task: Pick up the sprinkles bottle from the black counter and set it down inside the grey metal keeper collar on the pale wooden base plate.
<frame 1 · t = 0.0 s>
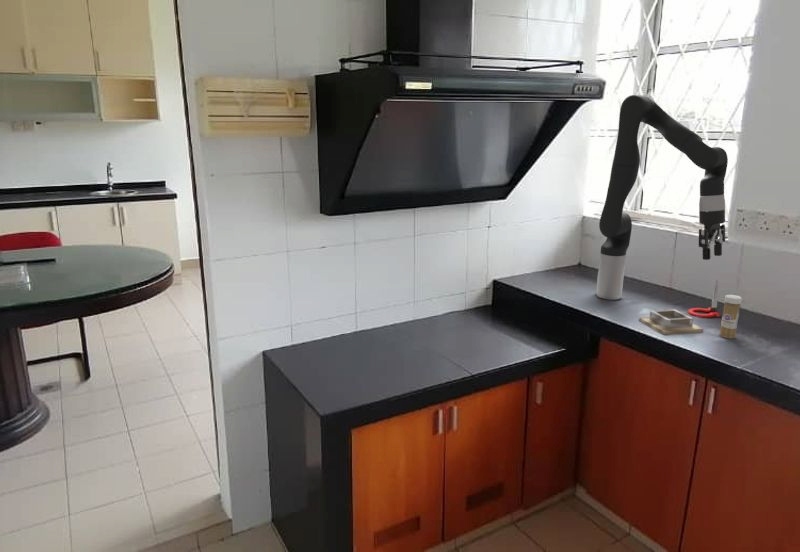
hand: (712, 257, 192), 22 cm above the counter, tool pointing down, fingers open, 8 cm apart
tow hook: (702, 314, 205), on the counter
sprinkles bottle: (727, 337, 184), on the counter
keeper: (670, 325, 193), on the counter
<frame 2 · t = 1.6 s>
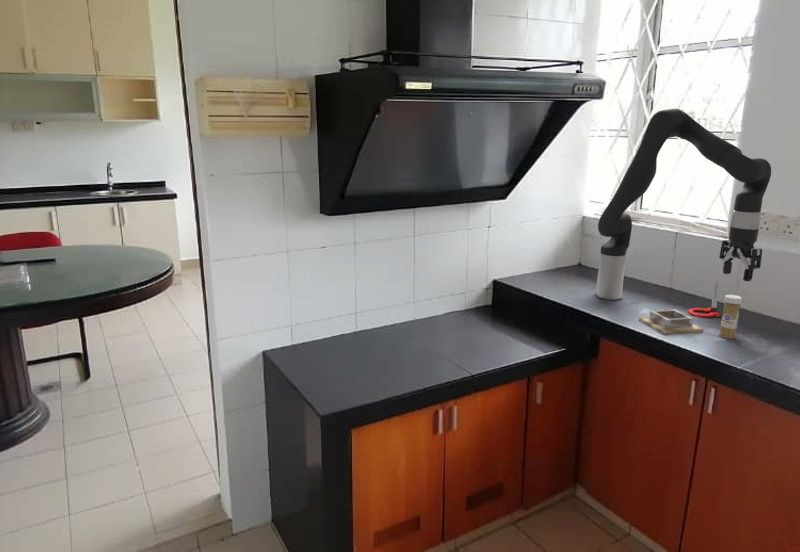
hand: (736, 277, 178), 20 cm above the counter, tool pointing down, fingers open, 8 cm apart
nothing on the counter moved.
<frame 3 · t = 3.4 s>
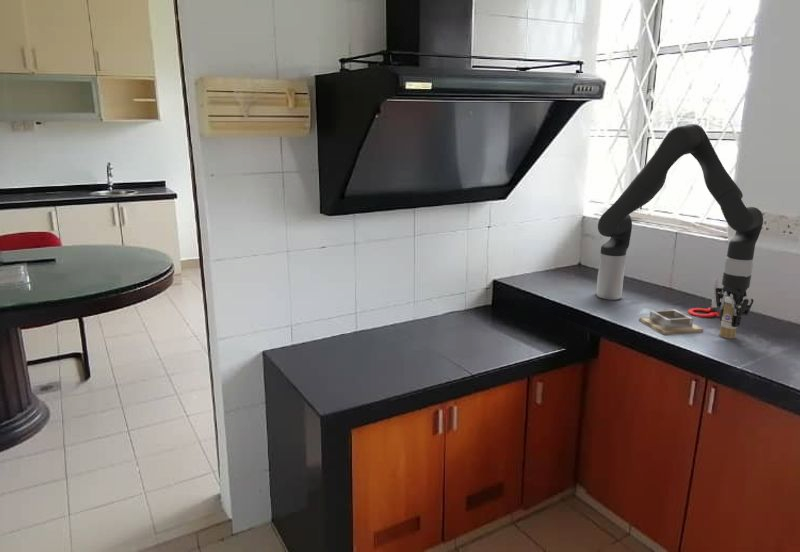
hand: (729, 323, 182), 4 cm above the counter, tool pointing down, fingers closed on sprinkles bottle, 4 cm apart
sprinkles bottle: (727, 336, 184), on the counter, touching gripper
everything else where it was.
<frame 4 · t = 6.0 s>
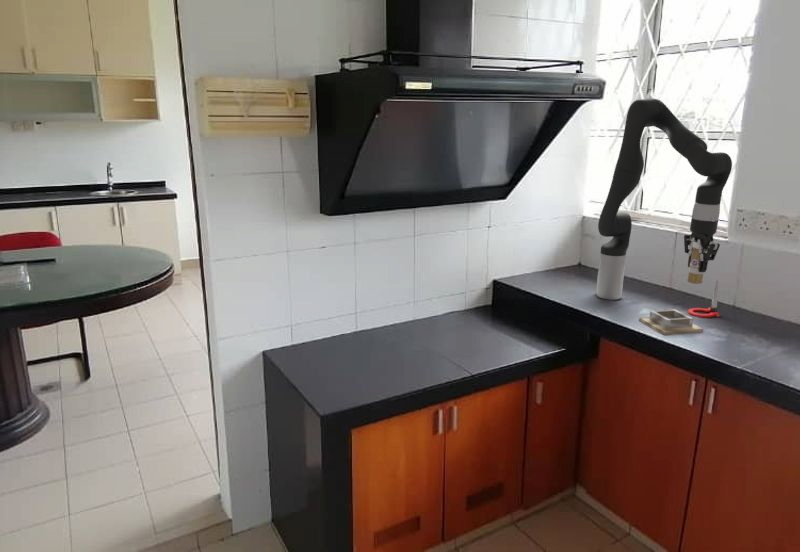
hand: (696, 269, 185), 20 cm above the counter, tool pointing down, fingers closed on sprinkles bottle, 4 cm apart
sprinkles bottle: (694, 282, 186), point 16 cm above the counter, touching gripper
everything else where it was.
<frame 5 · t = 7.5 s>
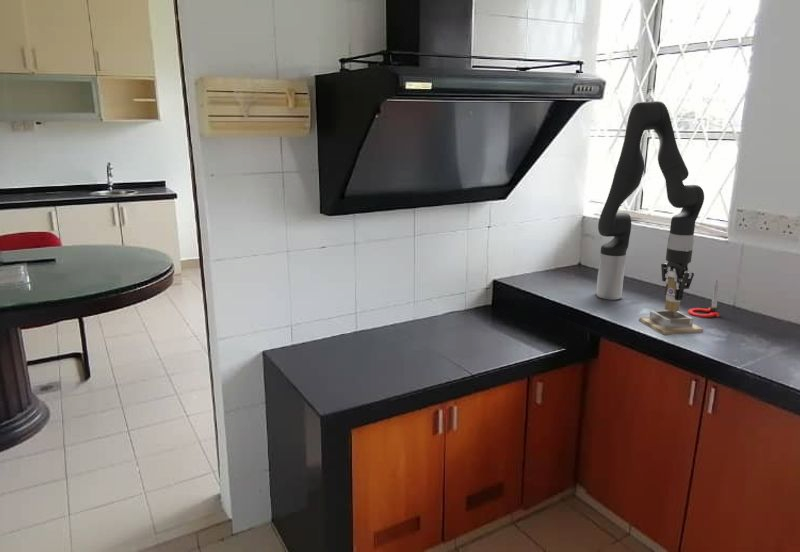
hand: (673, 297, 190), 10 cm above the counter, tool pointing down, fingers closed on sprinkles bottle, 4 cm apart
sprinkles bottle: (671, 310, 191), point 5 cm above the counter, touching gripper
everything else where it was.
when the fingers open (7 cm above the counter, at t = 8.5 s): sprinkles bottle drops 1 cm, resting on keeper.
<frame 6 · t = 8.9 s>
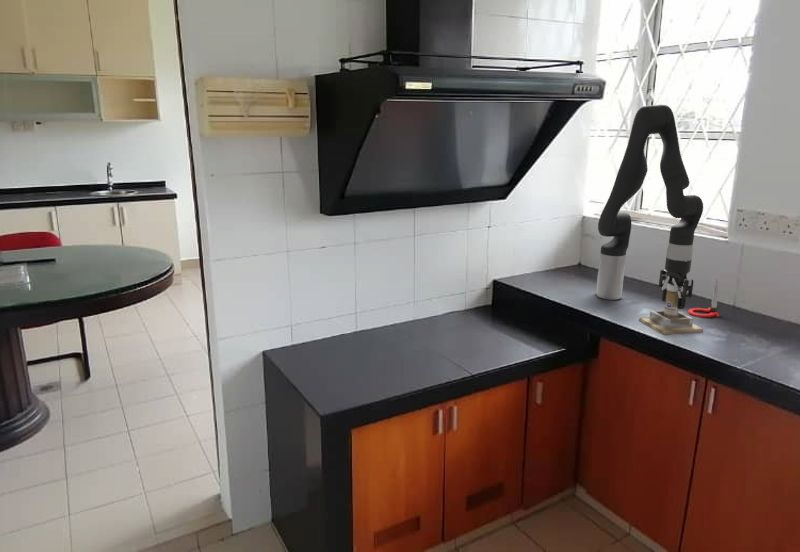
hand: (672, 304, 191), 7 cm above the counter, tool pointing down, fingers open, 7 cm apart
sprinkles bottle: (669, 323, 193), point 1 cm above the counter, touching keeper
everything else where it was.
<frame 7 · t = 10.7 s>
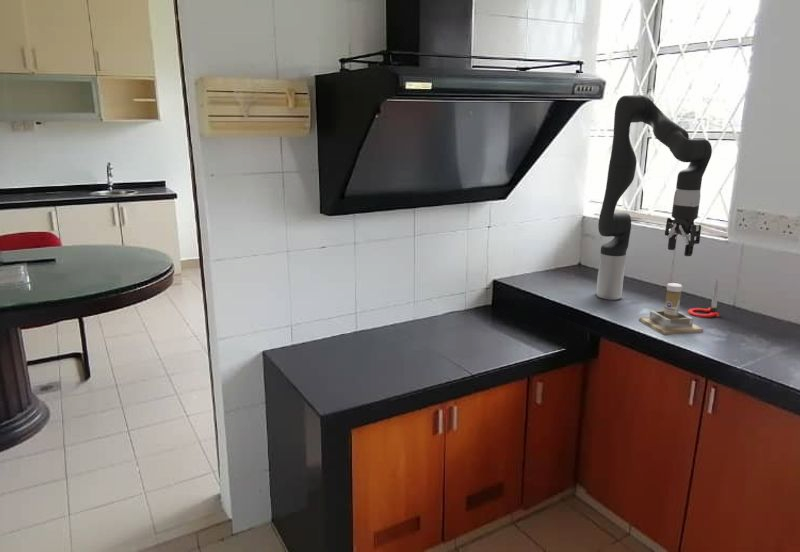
hand: (679, 252, 187), 25 cm above the counter, tool pointing down, fingers open, 8 cm apart
nothing on the counter moved.
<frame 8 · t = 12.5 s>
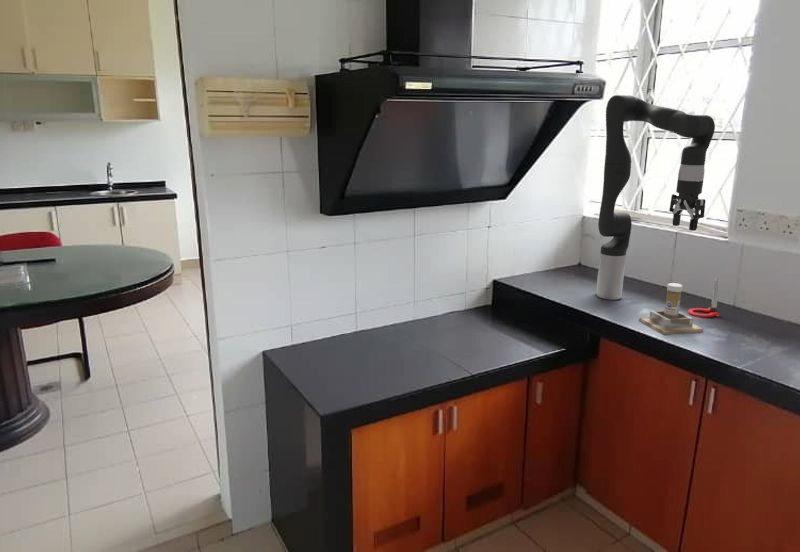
hand: (684, 227, 191), 32 cm above the counter, tool pointing down, fingers open, 8 cm apart
nothing on the counter moved.
at the end: sprinkles bottle 0.2 cm off-centre on the keeper, point 0.8 cm above the keeper's base; sprinkles bottle tilted 0°; the gripper is holding nothing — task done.
